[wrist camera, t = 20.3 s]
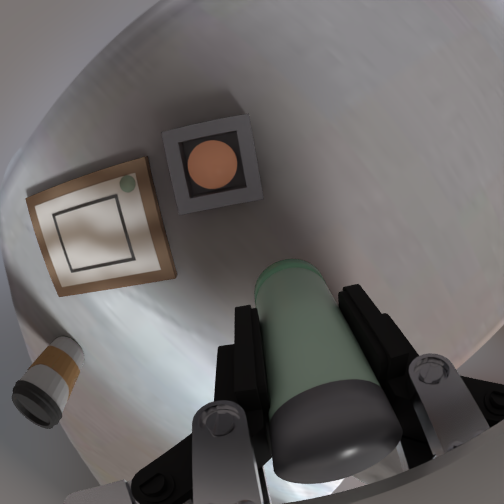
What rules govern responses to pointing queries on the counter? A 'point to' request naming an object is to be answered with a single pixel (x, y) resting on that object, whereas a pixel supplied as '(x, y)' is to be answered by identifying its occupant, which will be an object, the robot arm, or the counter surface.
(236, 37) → the counter surface
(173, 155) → the button housing
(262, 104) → the counter surface
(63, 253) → the drawing board
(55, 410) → the coffee cup
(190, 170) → the button
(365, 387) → the sage green marker
